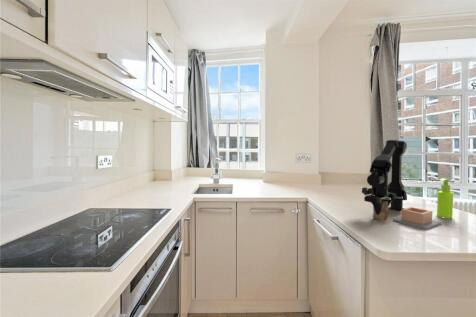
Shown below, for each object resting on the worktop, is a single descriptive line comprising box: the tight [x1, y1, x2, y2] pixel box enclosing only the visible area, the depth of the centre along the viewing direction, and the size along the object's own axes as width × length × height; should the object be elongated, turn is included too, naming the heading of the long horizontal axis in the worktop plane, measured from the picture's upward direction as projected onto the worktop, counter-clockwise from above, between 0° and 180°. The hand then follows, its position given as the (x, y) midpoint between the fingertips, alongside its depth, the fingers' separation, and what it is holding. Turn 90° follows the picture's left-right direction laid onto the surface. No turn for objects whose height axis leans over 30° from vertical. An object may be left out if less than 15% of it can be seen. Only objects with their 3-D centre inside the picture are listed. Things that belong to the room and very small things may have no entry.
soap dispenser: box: [436, 178, 454, 219], centre depth 116 cm, size 6×7×20 cm
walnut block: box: [372, 200, 389, 221], centre depth 116 cm, size 4×4×9 cm
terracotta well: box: [392, 206, 442, 231], centre depth 109 cm, size 14×14×6 cm
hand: (380, 213), depth 116 cm, fingers closed on walnut block, 4 cm apart
